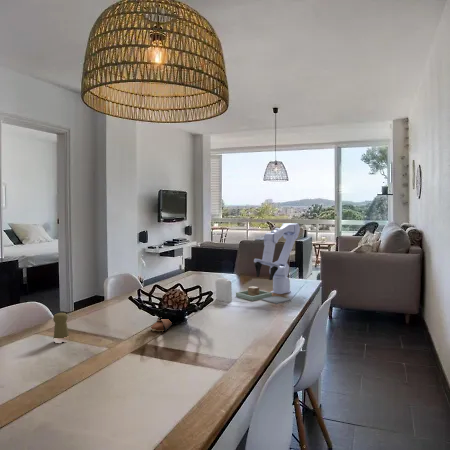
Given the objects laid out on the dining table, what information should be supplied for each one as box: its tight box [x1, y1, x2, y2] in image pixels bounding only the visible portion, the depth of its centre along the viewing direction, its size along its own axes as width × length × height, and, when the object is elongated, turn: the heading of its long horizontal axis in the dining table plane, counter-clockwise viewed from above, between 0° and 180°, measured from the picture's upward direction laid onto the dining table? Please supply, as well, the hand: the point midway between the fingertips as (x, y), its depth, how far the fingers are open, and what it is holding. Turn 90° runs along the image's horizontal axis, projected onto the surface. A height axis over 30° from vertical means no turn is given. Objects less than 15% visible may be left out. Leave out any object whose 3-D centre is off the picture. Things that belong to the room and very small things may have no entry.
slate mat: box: [261, 295, 292, 305], centre depth 208 cm, size 11×11×1 cm
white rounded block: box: [215, 277, 233, 303], centre depth 211 cm, size 10×4×12 cm, turn 39°
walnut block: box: [247, 285, 260, 296], centre depth 218 cm, size 4×5×5 cm
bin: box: [235, 289, 273, 302], centre depth 218 cm, size 14×14×2 cm
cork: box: [52, 312, 70, 339], centre depth 154 cm, size 6×6×11 cm
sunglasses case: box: [150, 318, 173, 332], centre depth 171 cm, size 18×7×7 cm, turn 170°
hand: (264, 278), depth 212 cm, fingers open, 7 cm apart
